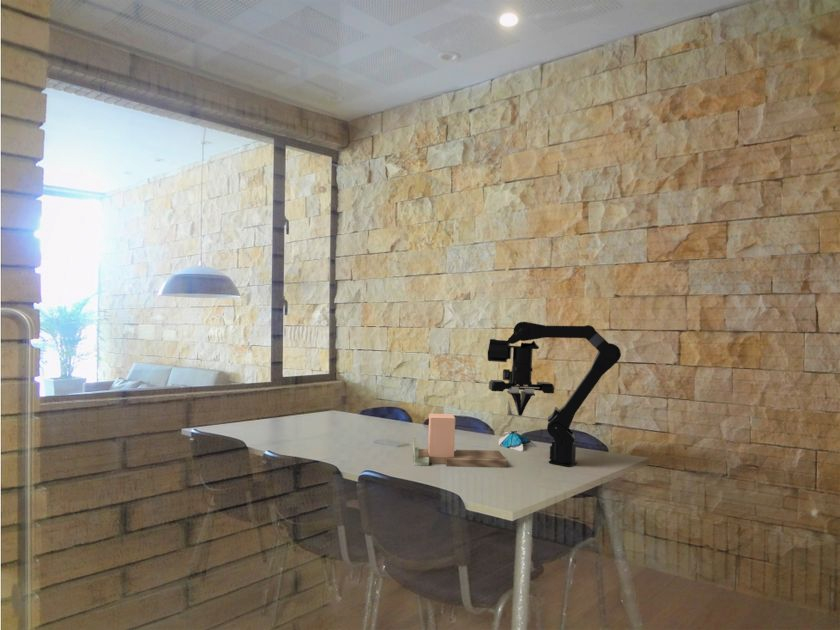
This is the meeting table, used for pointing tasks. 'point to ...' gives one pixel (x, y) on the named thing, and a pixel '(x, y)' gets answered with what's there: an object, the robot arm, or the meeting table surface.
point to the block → (441, 435)
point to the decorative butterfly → (515, 441)
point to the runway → (460, 458)
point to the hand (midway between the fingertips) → (519, 415)
